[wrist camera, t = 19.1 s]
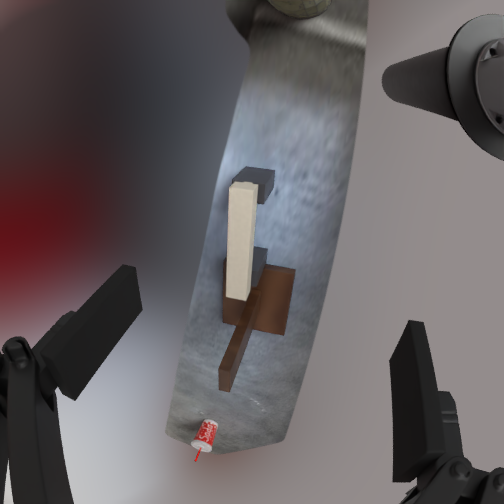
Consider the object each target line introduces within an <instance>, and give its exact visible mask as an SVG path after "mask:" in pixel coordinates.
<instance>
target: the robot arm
mask: <svg viewBox="0 0 504 504" xmlns="http://www.w3.org/2000/svg"><path fill="white" fill-rule="evenodd" d="M473 87H474V92H475V96H476V99H477V102H478V104H479V107H480V109H481V111H482V112H483V114H484V116H485V117H486V119H487V120H488V121H489V122H490V124H491V125H492V126H493V127H494V128H495V129H497V130H498V131H499V132H501V133H502V134H504V38H500V39H495V40H492V41H490V42H488V43H487V44H485V45H484V46H483V47H482V48H481V50H480V51H479V53H478V54H477V57H476V59H475V62H474V67H473ZM141 311H142V304H141V298H140V292H139V286H138V280H137V275H136V268H135V267H132V266H128V265H122V266H121V267H120V268H119V269H118V270H117V271H116V272H115V273H114V274H113V275H112V276H111V277H110V278H109V279H108V280H107V281H106V282H105V283H104V284H103V285H102V286H101V287H100V288H99V289H98V290H97V291H96V292H95V293H94V294H93V295H92V296H91V297H90V298H89V299H88V300H87V301H86V302H85V303H84V304H83V306H82V307H80V309H79V310H78V311H77V312H74V311H70V312H68V313H66V314H65V315H63V316H62V317H61V318H60V319H59V320H58V321H57V322H56V324H55V325H53V326H52V328H50V331H48V332H47V333H46V334H45V335H44V336H43V337H42V338H41V339H40V340H39V341H38V343H37V344H36V345H35V346H34V347H33V348H32V349H31V348H30V346H29V344H28V342H27V341H26V339H25V338H23V337H13V338H10V339H9V340H8V341H6V342H5V344H4V345H3V347H2V351H3V353H4V354H1V352H0V504H3V502H4V491H5V481H6V473H7V465H8V458H9V470H10V480H11V488H12V496H13V502H14V504H74V502H73V498H72V494H71V489H70V485H69V480H68V475H67V470H66V465H65V459H64V454H63V447H62V441H61V434H60V426H59V418H58V408H57V397H56V393H55V389H56V388H57V387H59V389H60V391H61V392H62V394H63V395H65V396H67V397H69V398H71V399H73V400H74V401H75V400H76V399H77V398H78V396H79V395H80V393H81V392H82V391H83V389H84V388H85V387H86V385H87V384H88V382H89V381H90V380H91V378H92V377H93V375H94V374H95V372H96V371H97V370H98V368H99V367H100V366H101V364H102V363H103V362H104V360H105V359H106V358H107V356H108V355H109V353H110V352H111V351H112V349H113V348H114V347H115V345H116V344H117V343H118V341H119V340H120V339H121V337H122V336H123V335H124V333H125V332H126V330H127V329H128V328H129V327H130V325H131V324H132V323H133V322H134V320H135V319H136V318H137V316H138V315H139V314H140V312H141ZM389 363H390V376H391V391H392V413H393V482H411V481H412V480H414V479H415V478H416V477H417V485H416V486H415V487H413V488H412V489H411V490H410V491H408V492H407V493H406V494H407V496H406V497H405V498H404V499H403V500H402V501H401V503H400V504H504V468H501V467H499V468H496V469H494V470H493V471H492V472H490V473H489V472H486V471H482V470H479V469H475V468H473V467H472V465H471V462H470V461H469V460H468V459H467V458H465V457H464V455H463V450H462V442H461V435H460V428H459V424H458V416H457V410H456V404H455V401H454V399H453V397H452V396H451V394H450V392H446V391H438V388H437V383H436V377H435V372H434V367H433V362H432V357H431V352H430V348H429V343H428V339H427V335H426V330H425V326H424V322H419V321H412V320H409V321H408V323H407V325H406V327H405V330H404V332H403V334H402V336H401V338H400V341H399V342H398V344H397V347H396V349H395V350H394V353H393V354H392V357H391V358H390V360H389Z"/></svg>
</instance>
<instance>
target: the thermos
mask: <svg viewBox="0 0 504 504" xmlns="http://www.w3.org/2000/svg"><path fill="white" fill-rule="evenodd" d="M268 1H269V3H271V4H272V5H273V6H274V7H275V8H276V9H277V10H279V11H280V12H281V13H283V14H284V15H286V16H288V17H292V18H297V19H309V18H312V17H315V16H318V15H320V14H321V13H323V12H324V11H325V10H326V9H327V8H328V6H329V5H330V4H331V0H268Z"/></svg>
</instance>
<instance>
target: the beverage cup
mask: <svg viewBox="0 0 504 504" xmlns="http://www.w3.org/2000/svg"><path fill="white" fill-rule="evenodd" d="M217 428H218V424H217V423H216V422H215V421H213V420H210V419H204V421H203V423H202V424H201V426H200V428H199V430H198V432H197V434H196V436H195V438H194V440H193V441H192V442H191V445H192V446H193V447H194V448H196V449H198V450H199V452H198V454H197V456H196V459H195V462H196V461H197V458H198V456H199V453H200V451H203V452H210V451H211V450H212V444H213V441H214V438H215V434H216V431H217Z"/></svg>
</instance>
